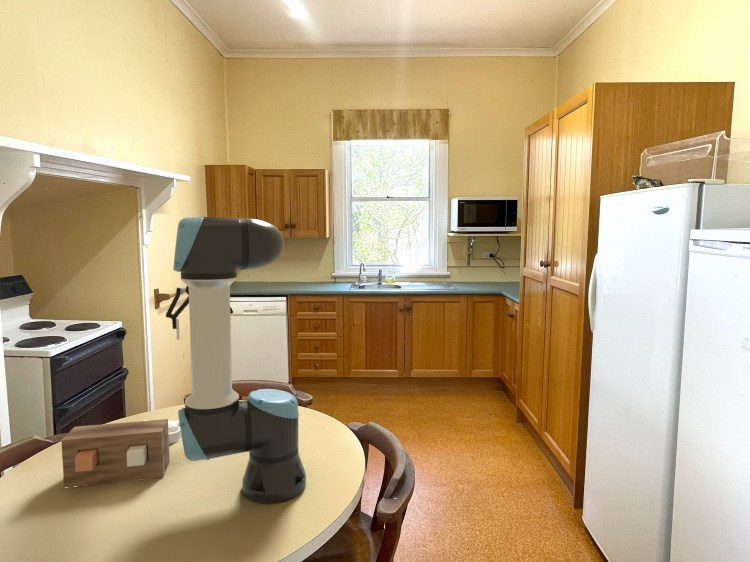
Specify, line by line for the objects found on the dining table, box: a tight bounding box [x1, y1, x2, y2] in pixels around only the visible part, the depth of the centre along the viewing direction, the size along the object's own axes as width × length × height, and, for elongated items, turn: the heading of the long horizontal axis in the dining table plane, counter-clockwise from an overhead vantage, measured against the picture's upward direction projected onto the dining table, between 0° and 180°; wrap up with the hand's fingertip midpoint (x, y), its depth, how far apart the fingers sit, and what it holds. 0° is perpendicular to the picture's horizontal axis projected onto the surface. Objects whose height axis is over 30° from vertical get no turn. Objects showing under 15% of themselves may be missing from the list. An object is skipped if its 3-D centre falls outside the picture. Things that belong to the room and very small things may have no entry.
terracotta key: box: [75, 448, 99, 472], centre depth 109 cm, size 5×4×4 cm
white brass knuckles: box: [144, 419, 182, 445], centre depth 137 cm, size 3×18×15 cm
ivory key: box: [127, 444, 148, 467], centre depth 112 cm, size 5×4×4 cm
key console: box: [61, 418, 171, 489], centre depth 115 cm, size 8×22×12 cm, turn 104°
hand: (200, 337), depth 147 cm, fingers open, 13 cm apart
